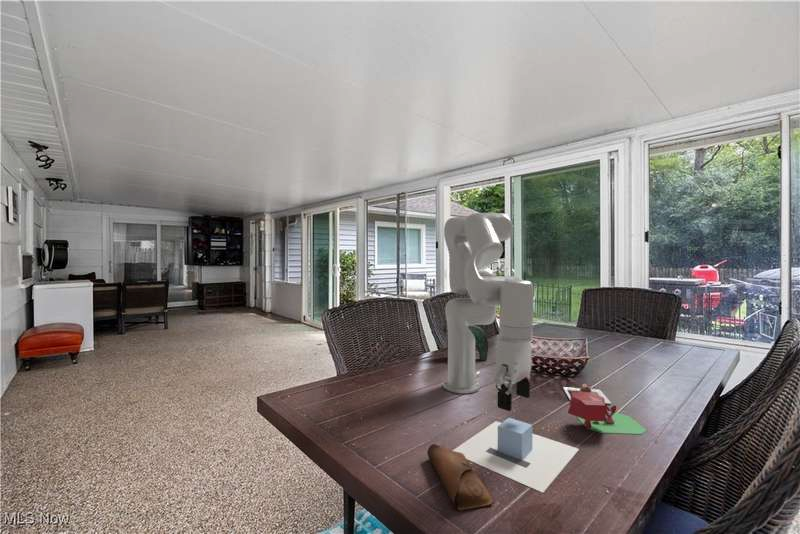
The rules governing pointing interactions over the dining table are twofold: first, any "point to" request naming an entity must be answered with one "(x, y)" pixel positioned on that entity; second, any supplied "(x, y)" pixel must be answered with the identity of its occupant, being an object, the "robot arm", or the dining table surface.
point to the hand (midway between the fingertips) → (514, 402)
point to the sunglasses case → (459, 479)
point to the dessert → (586, 390)
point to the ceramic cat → (480, 340)
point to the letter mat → (529, 471)
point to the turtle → (601, 415)
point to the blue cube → (515, 438)
